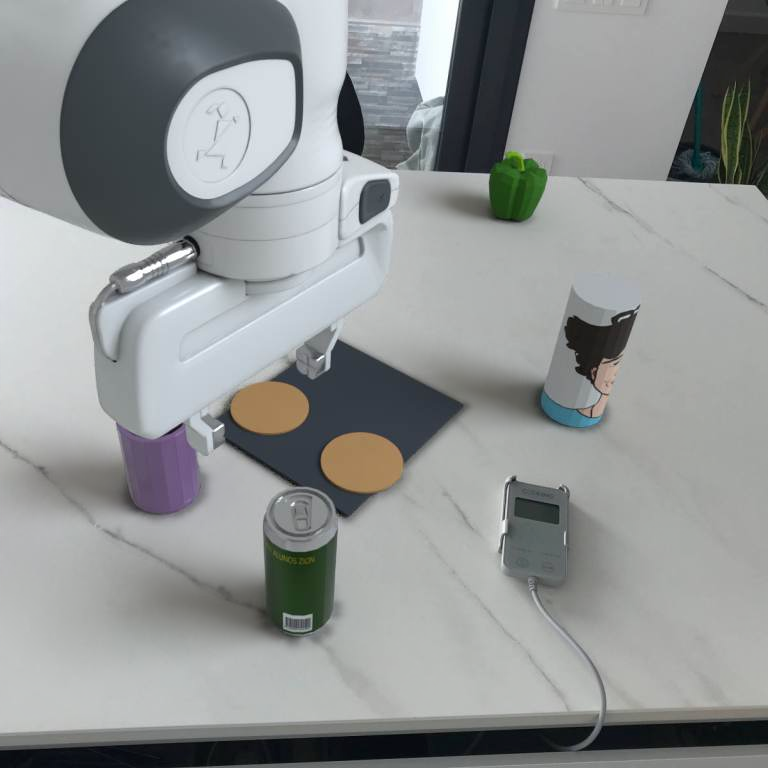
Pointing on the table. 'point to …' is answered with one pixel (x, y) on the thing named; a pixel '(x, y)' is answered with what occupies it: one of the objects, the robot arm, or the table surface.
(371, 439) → the placemat
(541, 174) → the bell pepper
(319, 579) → the beer can
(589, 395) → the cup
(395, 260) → the table surface
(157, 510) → the purple cup
